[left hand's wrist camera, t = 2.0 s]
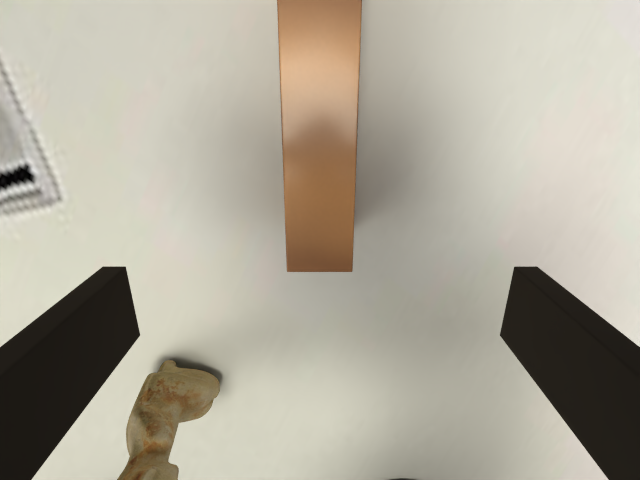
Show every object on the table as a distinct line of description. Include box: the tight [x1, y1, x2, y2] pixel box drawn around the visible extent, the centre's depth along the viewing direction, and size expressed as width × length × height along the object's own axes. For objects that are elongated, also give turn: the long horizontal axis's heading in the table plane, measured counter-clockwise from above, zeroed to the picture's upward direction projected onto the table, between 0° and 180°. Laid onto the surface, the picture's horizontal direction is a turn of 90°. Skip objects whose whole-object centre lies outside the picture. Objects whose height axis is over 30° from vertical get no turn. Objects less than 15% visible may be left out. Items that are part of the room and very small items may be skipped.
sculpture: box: [117, 360, 220, 480], centre depth 33 cm, size 6×7×15 cm
